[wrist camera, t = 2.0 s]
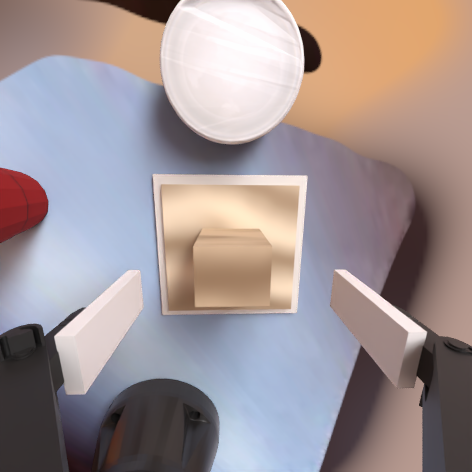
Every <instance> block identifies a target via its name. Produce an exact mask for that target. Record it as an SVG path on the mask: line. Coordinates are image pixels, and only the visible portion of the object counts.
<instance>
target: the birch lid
mask: <svg viewBox="0 0 472 472" xmlns="http://www.w3.org/2000/svg"><path fill="white" fill-rule="evenodd" d="M299 189H300V186H296V185H192V184H161V192H162V208H163V224H164V240H165V256H166V272H167V288H168V304H169V311H191V310H261V309H291V302H292V287H293V273H294V259H295V245H296V231H297V217H298V203H299Z"/></svg>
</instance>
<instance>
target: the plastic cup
mask: <svg viewBox="0 0 472 472" xmlns="http://www.w3.org/2000/svg"><path fill="white" fill-rule="evenodd" d="M47 212H48V199H47V196H46V193H45V190H44V189H43V188H42V187H41V186H40V184H39V183H38V182H37V181H36V180H34V179H33V178H31V177H30V176H28V175H26V174H23V173H21V172H17V171H13V170H9V169H4V168H0V243H2V242H4V241H6V240H8V239H10V238H12V237H13V236H15V235H16V234H19V233H21V232H23V231H26V230H28V229H30V228H32V227H33V226H35V225H36V224H38V223H39V222H40V221H42V220H43V219H44V217H45V215H46V213H47Z"/></svg>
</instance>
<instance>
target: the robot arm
mask: <svg viewBox="0 0 472 472" xmlns="http://www.w3.org/2000/svg"><path fill="white" fill-rule="evenodd" d="M330 307H331V308H332V309H333V310H334V311H335V313H336V314H337V315H338V316H339V318H340V319H341V320H342V321H343V323H344V324H345V325H346V326H347V328H348V329H349V330H350V331H351V332H352V334H353V335H354V336H355V337H356V339H357V340H358V341H359V342H360V344H361V345H362V346H363V347H364V349H365V350H366V351H367V352H368V353H369V355H370V356H371V357H372V358H373V360H374V361H375V362H376V363H377V365H378V366H379V367H380V368H381V370H382V371H383V372H384V373H385V375H386V376H387V377H388V378H389V379H390V381H391V382H392V383H393V384H394V386H395V387H396V388H414V385H415V381H416V377H417V376H418V377H419V378H420V379H421V380H422V382H423V383H424V387H423V391H422V395H421V399H420V403H419V406H421V407H423V472H472V347H471V346H470V345H468V344H466V343H464V342H462V341H459V340H457V339H454V338H450V337H442V336H438V335H437V334H436V333H434V332H433V331H432V330H430V329H429V328H427V327H426V326H425V325H423V324H422V323H421V322H418V320H417V319H415V318H414V317H412V316H411V315H410V314H409V313H407V312H406V311H404V310H403V309H401V308H399V307H396V306H395V305H391V304H390V303H388V302H387V301H386V300H384V299H383V298H382V297H381V296H379V295H378V294H377V293H375V292H374V291H373V290H371V289H370V288H369V287H367V286H366V285H365V284H363V283H362V282H361V281H360V280H358V279H357V278H356V277H354V276H353V275H352V274H350V273H349V272H348V271H346V270H334V277H333V286H332V294H331V302H330ZM142 309H143V296H142V286H141V275H140V270H128V271H127V272H126V273H125V274H124V275H122V276H121V277H120V278H119V279H118V280H117V281H116V282H115V283H113V284H112V285H111V286H110V287H109V288H108V289H107V290H106V291H104V292H103V293H102V294H101V295H100V296H99V297H98V298H97V299H95V300H94V301H93V302H92V303H91V304H90V305H89V306H88V307H87V308H81V309H79V310H77V311H75V312H73V313H72V314H70V315H69V316H68V317H67V318H66V319H65V320H64V321H62V322H61V323H60V324H59V325H58V326H56V327H55V328H54V329H53V330H52V331H50V332H49V333H48V334H47V335H46V336H44V333H43V328H42V326H41V325H39V324H27V325H23V326H19V327H16V328H13V329H11V330H9V331H7V332H5V333H3V334H2V335H0V472H69V468H68V462H67V455H66V449H65V442H64V436H63V429H62V423H61V416H60V410H59V403H58V397H57V393H56V392H57V390H58V389H59V388H60V387H61V386H62V384H63V383H64V387H65V392H66V395H76V394H86V392H87V391H88V389H89V388H90V386H91V385H92V383H93V382H94V380H95V379H96V377H97V376H98V374H99V373H100V371H101V370H102V368H103V367H104V365H105V364H106V362H107V361H108V360H109V358H110V357H111V355H112V354H113V352H114V351H115V349H116V348H117V346H118V345H119V343H120V342H121V340H122V339H123V337H124V336H125V334H126V333H127V331H128V330H129V328H130V327H131V325H132V324H133V322H134V321H135V319H136V318H137V316H138V315H139V313H140V312H141V310H142ZM218 443H219V416H218V413H217V410H216V408H215V406H214V404H213V403H212V401H211V400H210V399H209V398H208V397H207V396H206V395H205V394H204V393H203V392H202V391H200V390H199V389H197V388H195V387H193V386H191V385H189V384H187V383H184V382H180V381H176V380H169V379H155V380H148V381H144V382H141V383H138V384H135V385H133V386H131V387H129V388H127V389H126V390H124V391H123V392H122V393H121V394H120V395H118V396H117V398H116V399H115V400H114V401H113V403H112V404H111V406H110V408H109V410H108V412H107V414H106V416H105V418H104V420H103V422H102V424H101V427H100V430H99V434H98V440H97V445H96V450H95V455H94V460H93V465H92V470H91V472H210V471H211V468H212V465H213V462H214V459H215V456H216V453H217V449H218Z"/></svg>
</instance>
